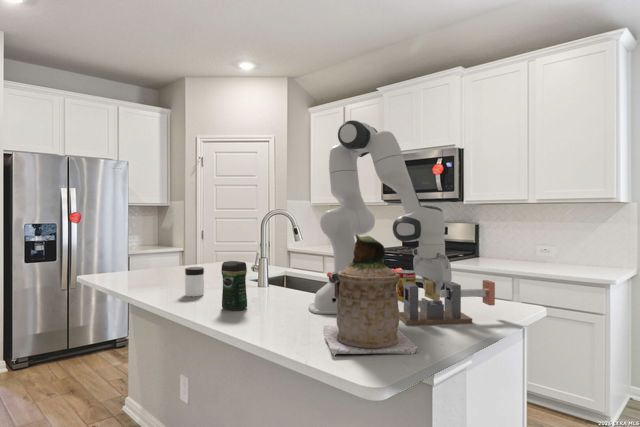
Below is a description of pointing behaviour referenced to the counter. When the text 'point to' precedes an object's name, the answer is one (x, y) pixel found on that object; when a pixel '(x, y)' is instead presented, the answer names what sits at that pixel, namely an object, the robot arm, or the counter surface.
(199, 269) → the jar
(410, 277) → the canned food
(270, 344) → the counter surface
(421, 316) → the shaft rig
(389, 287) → the cookie jar
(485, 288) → the shaft
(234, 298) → the coffee jar
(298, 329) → the counter surface
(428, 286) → the frame
